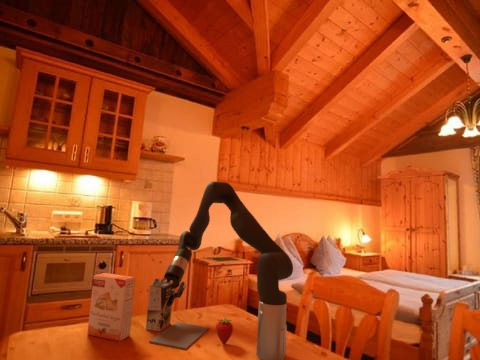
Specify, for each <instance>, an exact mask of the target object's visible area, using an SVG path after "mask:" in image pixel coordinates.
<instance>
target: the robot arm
mask: <svg viewBox="0 0 480 360" xmlns="http://www.w3.org/2000/svg"><path fill="white" fill-rule="evenodd" d="M213 204H224V205H225V206H226V207H227V208H228V209H229V211H230V226H231V228H232V229H233V231H234V232H235V234H236V235H237V236H238V237H239V239H241V240H242V241H243V242H244V243H246V244H247V245H248V246H250V247H252V248H253V249H255V250H257V251H258V253H259V254H261V255H260V256H259V258H258V261H257V264H256V290H257V294H258V314H257V331H256V333H257V334H256V335H257V336H256V357H257V358H258V359H259V360H285V358H286V356H287V355H286V354H287V333H288V332H287V328H288V325H287V299H288V298H287V296H288V295H287V293H285V291H282V290H280V288H279V287H280V286H279V281H281V280H282V281H283V280H286V279H288V278H290V277H291V276H292V274H293V272H294V265H293V261H292V258H290V256H289V255H288V254H287V253H286V252H285V250H284V249H282V248H281V246H280V245H278V244H277V242H275V241H274V239H272V237H271V236H270V235H269V233H268V232H266V230H265V229H264V228H263V226H262V225H261V224H260V223H259V222H258V220H257V219H256V218H255V216H254V214H252V213H251V212H250V211H249V209H248V208H247V207H246V206H245V203H243V202H242V200H241V199H240V197H239V196H238V194H237V192H236V190H235V189H234V187H233V186H232V185H231V184H230V183H228V182H225V181H210V182H209V183H208V184H207V185H206V187H205V188H204V192H203V194H202V198H201V200H200V204H199V207H198V210H197V213H196V215H195V217H194V218H193V220H192V223H191V224H190V226H189V231H188V230H185V231H182V233H181V234H180V236H179V240H178V247H177V250H176V253H175V254H174V255H173V259H172V260H171V262H170V263H169V265H168V267H167V269H166V271H165V273H164V276H163V278H162V279H158V278H155V279H154V281H153V283H152V285H154V284H156V283H159V282H167V283H174V284H173V287H172V291H171V293H172V296H170V298H169V300H168V302H167V306H168V307H170V306H171V305H172V306H173V304H174V301H175V299H177V298H178V299H180V298H181V297H182V295H183V293H184V291H185V289H186V287H187V286H186V283H185V281H182V279H183V277H184V275H185V273H186V271H187V268H188V265H189V263H190V260H191V259H192V255H193V254H192V251H197V250H199V248H201V246H202V241H203V236H204V233H205V231H206V230H207V228H208V227H209V224H210V221H211V220H210V219H211V217H210V208H211V206H212V205H213ZM191 250H192V251H191ZM177 288H178V289H177Z"/></svg>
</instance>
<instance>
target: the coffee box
mask: <svg viewBox="0 0 480 360" xmlns="http://www.w3.org/2000/svg"><path fill="white" fill-rule="evenodd" d="M173 284H174V283H167V282H159V283H156V284H154V285H153V284H152V285H149V293H148V301H147V302H148V303H147V313H146V321H145V322H146V323H145V330H148V331H155V332H161V331H164V329H166V328H167V327H168V326H169V325H171V318H172V309H173V308H172V306H173V304H172V305H171V306H170V307H168V306H167V302H168V300H169V298H170V296H172V293H171V291H172V287H173Z"/></svg>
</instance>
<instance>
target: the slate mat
mask: <svg viewBox="0 0 480 360" xmlns="http://www.w3.org/2000/svg"><path fill="white" fill-rule="evenodd" d="M209 330H210V327H208V326H202V325H197V324H190V323H185V322H180V321H177V322H176V323H174V324H172V325H171V326H170V327H168V328H165V330H162V332H160V333H158V334H157V335H156V336H154V337H153V338H151V339H149V342H148V343H150V344H154V345H159V346H165V347H170V348H175V349H179V350H184V351H187V350H188V349H189V348H190V347H191V346H192V345H193V344H195V343H196V342H197V341H198V340H199V339H201V337H202V336H204V335H205V333H207V332H208V331H209Z"/></svg>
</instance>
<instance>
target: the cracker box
mask: <svg viewBox="0 0 480 360" xmlns="http://www.w3.org/2000/svg"><path fill="white" fill-rule="evenodd" d="M92 279H93V280H92V286H91V287H92V288H91V297H90V298H91V299H90V304H89V305H90V307H89V315H88V316H89V317H88V323H87V336H91V337H92V336H93V337H97V338H102V339H106V340H111V341H115V342H121V341H123V340H125V339H127V338H128V337H130V335H131V328H132V327H131V325H132V317H133V304H134V296H135V286H136V285H135V283H136V277H135V276H128V275H122V274H116V273H115V274H114V273H108V272H103V273H98V274H94V275H93V278H92Z"/></svg>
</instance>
